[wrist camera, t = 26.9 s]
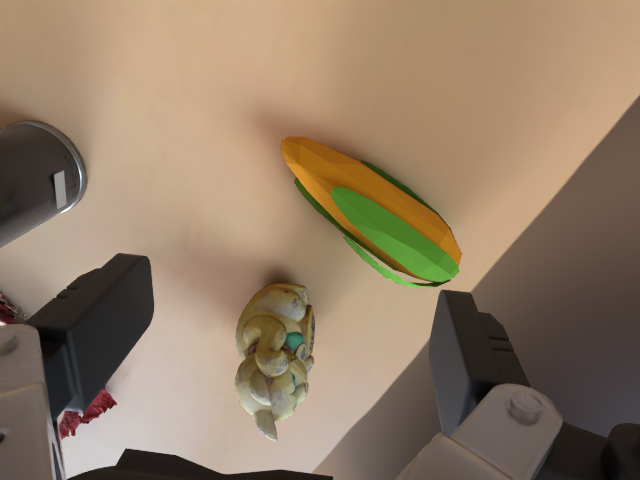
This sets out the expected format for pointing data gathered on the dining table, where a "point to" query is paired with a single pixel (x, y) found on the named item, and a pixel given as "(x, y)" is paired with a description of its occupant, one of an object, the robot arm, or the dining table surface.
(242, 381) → the decorative figurine
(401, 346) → the dining table surface
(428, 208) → the corn
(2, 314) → the plate with food
